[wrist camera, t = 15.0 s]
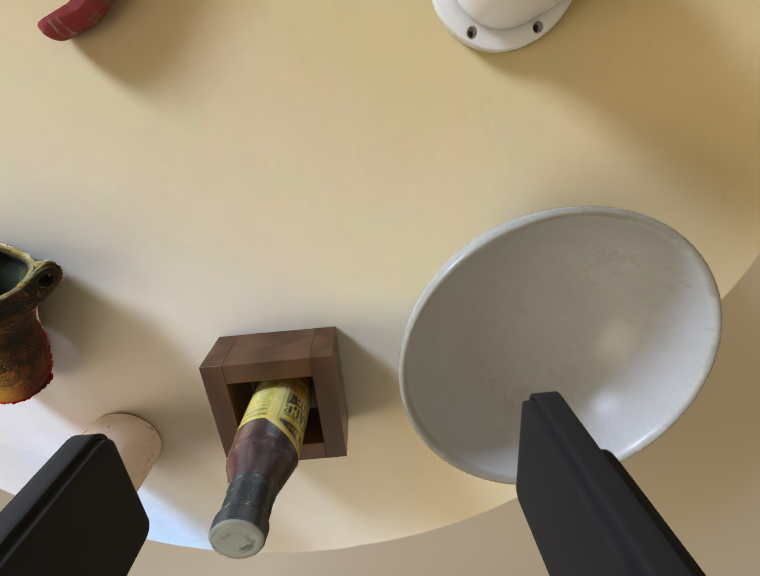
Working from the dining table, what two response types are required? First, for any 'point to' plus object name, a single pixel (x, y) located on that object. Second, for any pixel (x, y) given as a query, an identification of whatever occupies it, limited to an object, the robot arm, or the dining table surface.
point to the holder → (280, 361)
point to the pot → (24, 324)
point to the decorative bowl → (559, 335)
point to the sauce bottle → (261, 464)
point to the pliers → (73, 18)
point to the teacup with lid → (131, 443)
